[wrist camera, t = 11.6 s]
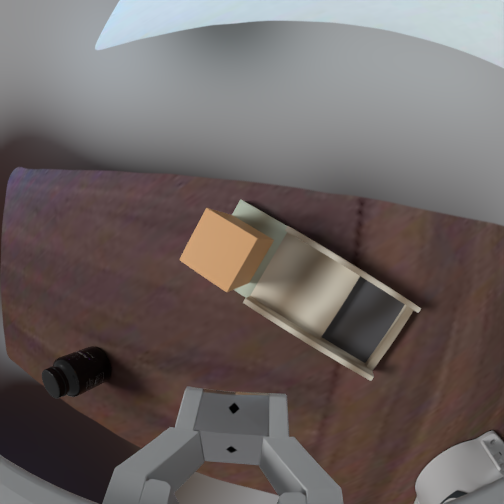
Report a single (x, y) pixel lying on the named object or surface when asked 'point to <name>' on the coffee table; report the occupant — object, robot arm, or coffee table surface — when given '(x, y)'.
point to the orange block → (225, 250)
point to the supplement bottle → (77, 372)
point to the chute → (322, 296)
